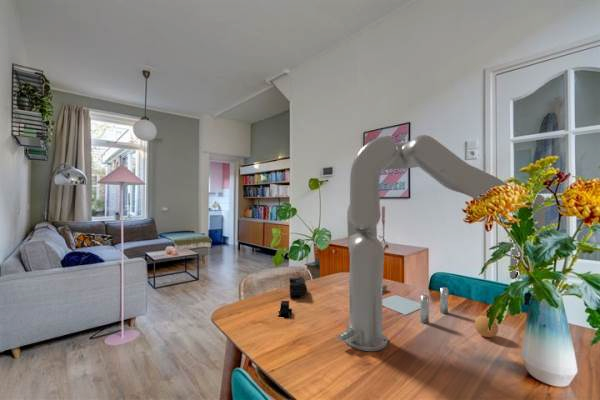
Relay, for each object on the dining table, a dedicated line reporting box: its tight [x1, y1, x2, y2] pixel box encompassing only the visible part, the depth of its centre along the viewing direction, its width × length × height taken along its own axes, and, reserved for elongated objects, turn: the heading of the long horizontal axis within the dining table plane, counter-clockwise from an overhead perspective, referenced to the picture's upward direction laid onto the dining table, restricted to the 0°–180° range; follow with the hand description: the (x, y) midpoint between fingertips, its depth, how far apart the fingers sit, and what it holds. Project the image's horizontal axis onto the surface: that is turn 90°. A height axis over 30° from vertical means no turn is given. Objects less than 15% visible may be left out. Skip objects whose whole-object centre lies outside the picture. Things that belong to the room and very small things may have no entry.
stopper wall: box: [382, 283, 388, 293], centre depth 119 cm, size 18×2×2 cm, turn 126°
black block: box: [277, 300, 293, 319], centre depth 100 cm, size 12×7×5 cm, turn 178°
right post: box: [439, 286, 449, 315], centre depth 100 cm, size 3×3×9 cm
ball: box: [474, 315, 499, 338], centre depth 84 cm, size 6×6×6 cm
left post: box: [420, 294, 430, 325], centre depth 93 cm, size 3×3×9 cm
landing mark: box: [382, 294, 421, 316], centre depth 108 cm, size 14×14×1 cm
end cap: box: [289, 276, 308, 300], centre depth 118 cm, size 10×7×7 cm
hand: (527, 304), depth 76 cm, fingers closed
